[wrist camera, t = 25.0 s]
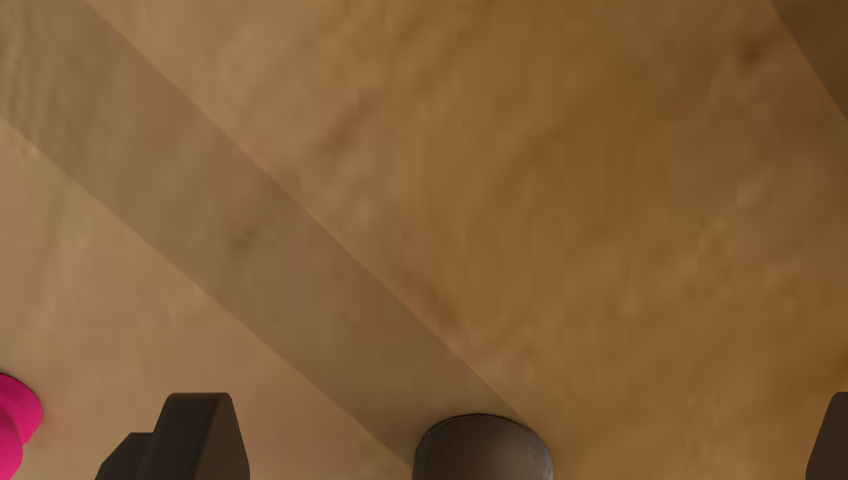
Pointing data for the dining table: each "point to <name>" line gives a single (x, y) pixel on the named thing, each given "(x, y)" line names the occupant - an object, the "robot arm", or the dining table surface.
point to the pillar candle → (481, 451)
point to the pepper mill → (15, 423)
